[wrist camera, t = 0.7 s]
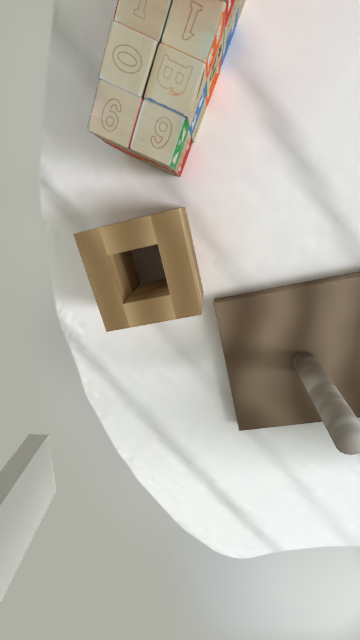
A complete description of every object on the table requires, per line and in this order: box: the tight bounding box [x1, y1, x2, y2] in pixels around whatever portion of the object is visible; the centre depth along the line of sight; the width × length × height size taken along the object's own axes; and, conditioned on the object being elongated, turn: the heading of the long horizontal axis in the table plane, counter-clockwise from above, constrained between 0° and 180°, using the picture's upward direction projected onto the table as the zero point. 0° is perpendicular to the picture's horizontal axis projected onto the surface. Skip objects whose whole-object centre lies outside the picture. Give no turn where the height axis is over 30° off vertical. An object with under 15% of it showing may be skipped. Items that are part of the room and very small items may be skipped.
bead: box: [74, 208, 203, 332], centre depth 29 cm, size 9×9×7 cm
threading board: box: [214, 272, 360, 454], centre depth 28 cm, size 17×17×14 cm
